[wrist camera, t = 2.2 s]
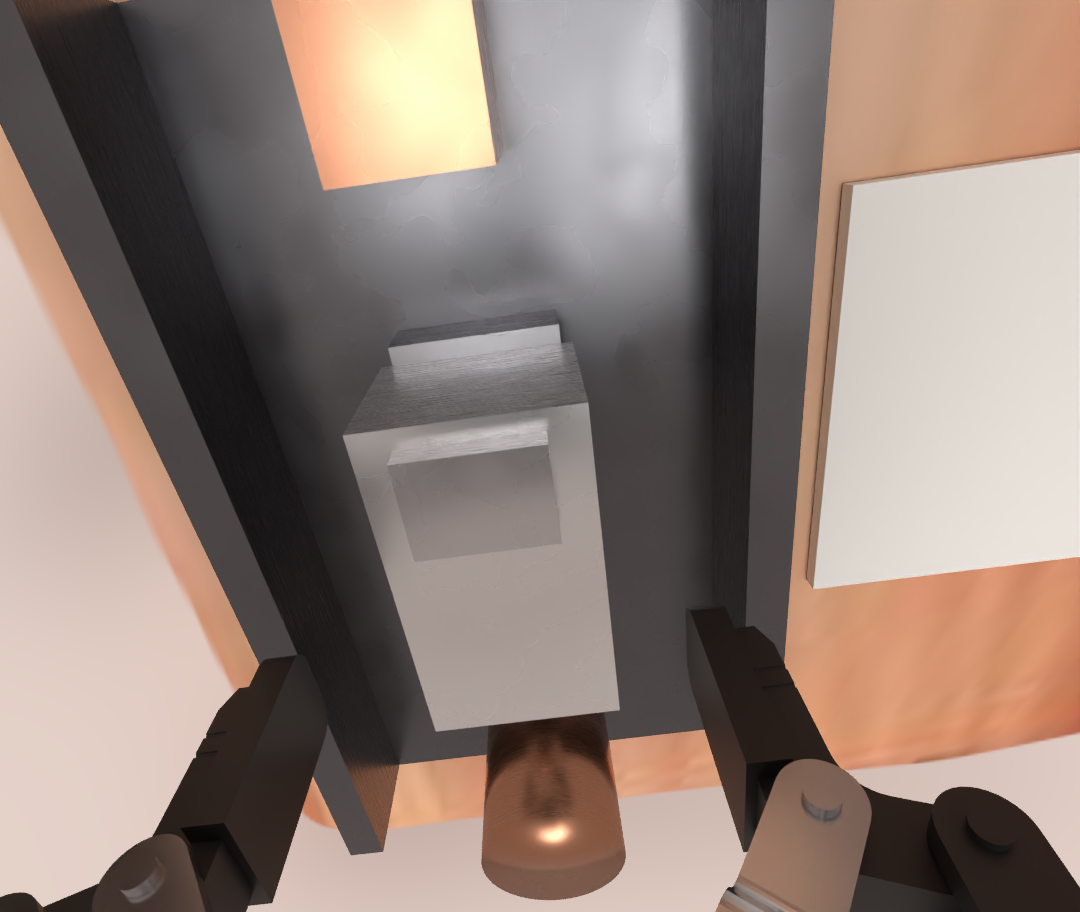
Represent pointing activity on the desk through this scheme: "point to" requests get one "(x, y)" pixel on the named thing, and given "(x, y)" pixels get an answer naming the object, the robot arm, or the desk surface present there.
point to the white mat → (952, 374)
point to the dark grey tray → (449, 319)
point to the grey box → (491, 532)
